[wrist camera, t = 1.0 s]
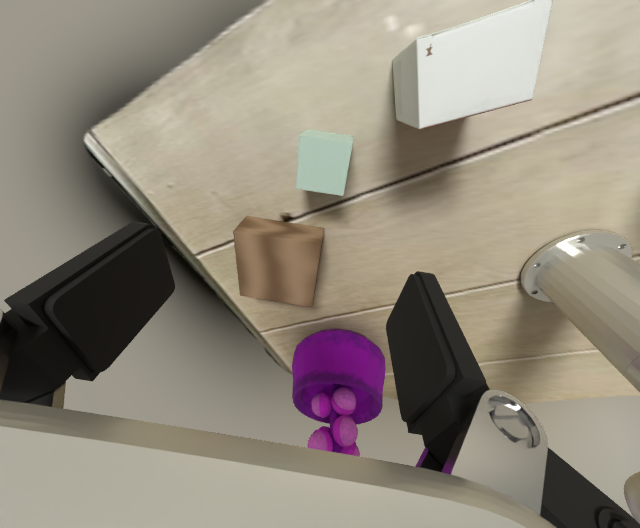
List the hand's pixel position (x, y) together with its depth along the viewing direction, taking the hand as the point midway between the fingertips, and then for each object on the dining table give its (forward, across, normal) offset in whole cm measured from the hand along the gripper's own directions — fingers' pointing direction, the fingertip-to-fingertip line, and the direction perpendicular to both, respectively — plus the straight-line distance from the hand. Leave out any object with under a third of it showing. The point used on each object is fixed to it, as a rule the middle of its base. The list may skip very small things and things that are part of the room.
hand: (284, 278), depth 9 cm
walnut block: (+25, +4, +17) cm, 31 cm away
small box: (+26, -10, -8) cm, 29 cm away
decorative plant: (+25, -9, +38) cm, 47 cm away
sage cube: (+26, 0, +1) cm, 26 cm away
